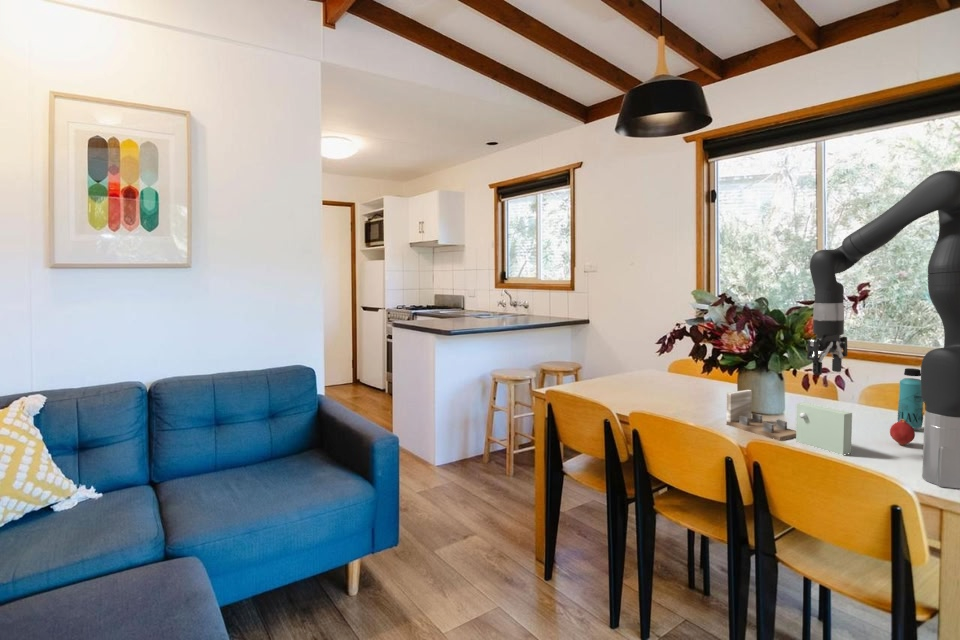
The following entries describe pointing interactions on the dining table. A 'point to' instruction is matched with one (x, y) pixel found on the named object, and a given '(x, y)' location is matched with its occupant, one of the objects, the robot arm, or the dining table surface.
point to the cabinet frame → (753, 417)
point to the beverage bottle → (911, 399)
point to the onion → (902, 432)
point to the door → (824, 428)
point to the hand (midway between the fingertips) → (827, 373)
